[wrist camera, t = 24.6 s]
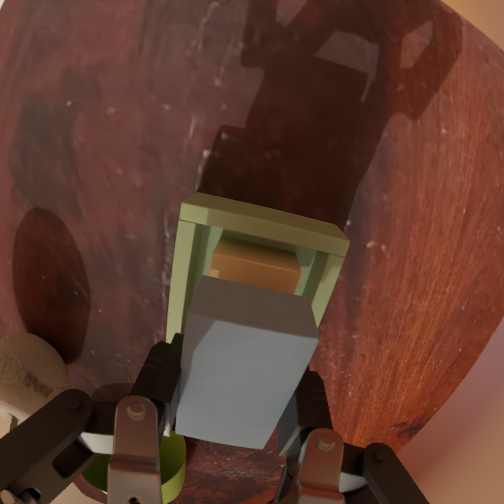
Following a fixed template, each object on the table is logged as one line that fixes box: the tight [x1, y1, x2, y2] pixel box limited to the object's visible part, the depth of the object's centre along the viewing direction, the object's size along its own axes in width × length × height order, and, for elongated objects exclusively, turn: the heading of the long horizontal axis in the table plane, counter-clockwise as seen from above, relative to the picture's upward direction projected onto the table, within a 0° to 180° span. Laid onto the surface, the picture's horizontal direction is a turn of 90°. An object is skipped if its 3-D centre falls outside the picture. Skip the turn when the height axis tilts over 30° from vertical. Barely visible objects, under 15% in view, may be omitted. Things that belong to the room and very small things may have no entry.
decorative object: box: [0, 332, 72, 432], centre depth 15 cm, size 9×9×10 cm
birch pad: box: [209, 236, 302, 295], centre depth 15 cm, size 7×4×2 cm, turn 167°
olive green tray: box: [166, 192, 350, 344], centre depth 15 cm, size 11×8×3 cm
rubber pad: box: [175, 275, 320, 449], centre depth 10 cm, size 7×4×2 cm, turn 167°
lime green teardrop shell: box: [82, 430, 186, 504], centre depth 22 cm, size 8×12×20 cm
